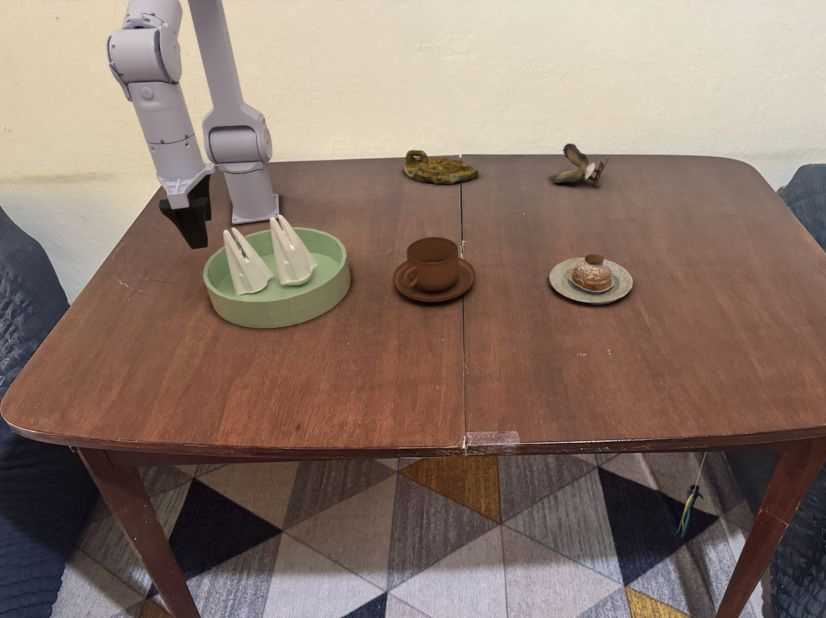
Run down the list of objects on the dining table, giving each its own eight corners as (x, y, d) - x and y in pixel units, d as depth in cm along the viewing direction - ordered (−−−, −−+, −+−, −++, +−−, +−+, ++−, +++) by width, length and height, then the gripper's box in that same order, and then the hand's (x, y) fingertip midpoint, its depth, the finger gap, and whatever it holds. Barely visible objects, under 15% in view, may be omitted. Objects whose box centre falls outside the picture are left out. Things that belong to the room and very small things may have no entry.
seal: (482, 172, 127) (410, 166, 130) (483, 148, 125) (409, 142, 127) (473, 187, 120) (396, 181, 122) (473, 162, 117) (395, 156, 120)
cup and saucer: (458, 316, 89) (456, 279, 85) (380, 301, 92) (375, 264, 88) (486, 271, 97) (486, 236, 93) (414, 259, 101) (411, 224, 97)
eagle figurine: (607, 169, 122) (563, 154, 124) (611, 147, 115) (564, 131, 117) (591, 202, 120) (547, 186, 122) (594, 182, 113) (547, 166, 115)
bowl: (216, 262, 101) (208, 237, 98) (343, 244, 105) (339, 219, 102) (207, 339, 86) (197, 312, 83) (357, 315, 89) (353, 288, 87)
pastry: (585, 318, 87) (588, 290, 84) (532, 278, 95) (533, 252, 92) (649, 291, 92) (654, 263, 89) (594, 255, 100) (597, 229, 97)
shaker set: (319, 272, 97) (306, 206, 90) (318, 288, 94) (304, 220, 87) (238, 281, 96) (218, 214, 89) (235, 296, 93) (214, 229, 86)
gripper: (199, 153, 74) (230, 255, 83) (207, 112, 85) (233, 206, 93) (135, 161, 73) (172, 263, 81) (151, 118, 84) (183, 212, 92)
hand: (202, 233), depth 87 cm, fingers open, 7 cm apart
